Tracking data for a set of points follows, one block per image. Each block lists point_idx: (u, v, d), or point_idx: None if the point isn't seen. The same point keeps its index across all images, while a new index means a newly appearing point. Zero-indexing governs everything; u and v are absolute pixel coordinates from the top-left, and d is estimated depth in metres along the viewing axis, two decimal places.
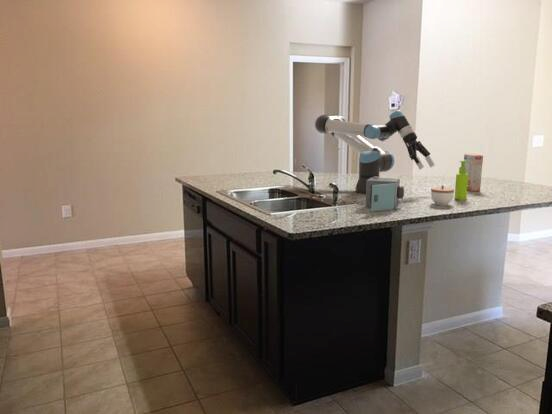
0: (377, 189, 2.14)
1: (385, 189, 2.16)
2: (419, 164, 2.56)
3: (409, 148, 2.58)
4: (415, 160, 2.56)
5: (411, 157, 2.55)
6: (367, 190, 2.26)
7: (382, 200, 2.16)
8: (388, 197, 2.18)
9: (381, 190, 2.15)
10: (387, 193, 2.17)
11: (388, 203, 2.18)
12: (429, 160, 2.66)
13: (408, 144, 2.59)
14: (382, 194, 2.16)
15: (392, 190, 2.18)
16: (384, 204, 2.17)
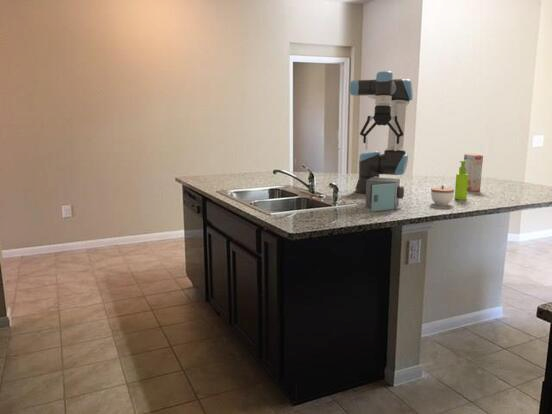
0: (377, 189, 2.14)
1: (385, 189, 2.16)
2: None
3: None
4: None
5: None
6: (367, 190, 2.26)
7: (382, 200, 2.16)
8: (388, 197, 2.18)
9: (381, 190, 2.15)
10: (387, 193, 2.17)
11: (388, 203, 2.18)
12: (394, 143, 2.22)
13: (367, 118, 2.24)
14: (382, 194, 2.16)
15: (392, 190, 2.18)
16: (384, 204, 2.17)
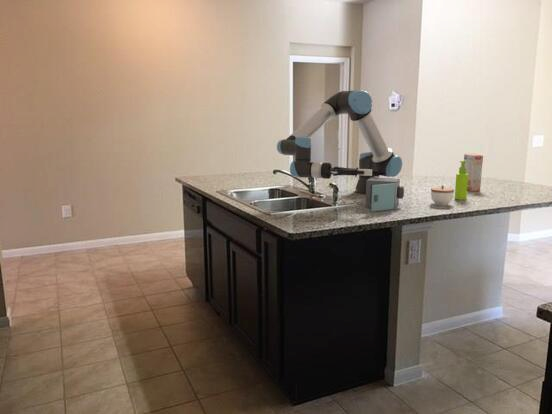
0: (377, 189, 2.14)
1: (385, 189, 2.16)
2: None
3: None
4: None
5: None
6: (367, 190, 2.26)
7: (382, 200, 2.16)
8: (388, 197, 2.18)
9: (381, 190, 2.15)
10: (387, 193, 2.17)
11: (388, 203, 2.18)
12: None
13: None
14: (382, 194, 2.16)
15: (392, 190, 2.18)
16: (384, 204, 2.17)
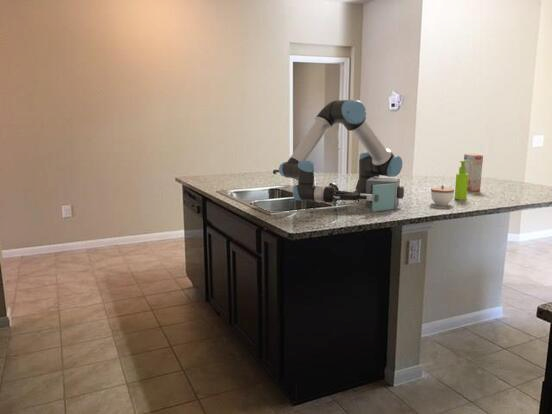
0: (378, 189, 2.14)
1: (385, 189, 2.16)
2: None
3: None
4: None
5: None
6: (367, 190, 2.26)
7: (382, 200, 2.16)
8: (388, 197, 2.18)
9: (381, 190, 2.15)
10: (387, 193, 2.17)
11: (388, 203, 2.18)
12: None
13: None
14: (382, 194, 2.16)
15: (392, 190, 2.18)
16: (384, 204, 2.17)
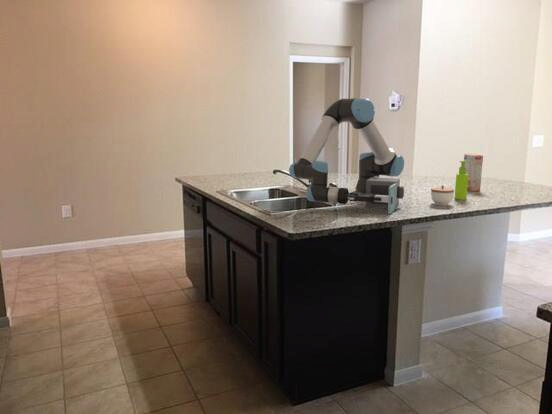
0: (392, 191, 2.09)
1: (394, 190, 2.14)
2: None
3: None
4: None
5: (374, 195, 2.18)
6: (367, 190, 2.26)
7: (392, 201, 2.13)
8: (394, 198, 2.16)
9: (393, 191, 2.12)
10: (394, 194, 2.15)
11: (394, 204, 2.17)
12: None
13: None
14: (393, 195, 2.12)
15: (395, 190, 2.17)
16: (393, 205, 2.15)
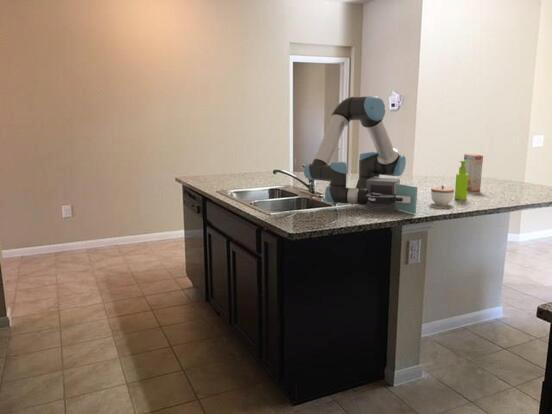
0: None
1: None
2: None
3: None
4: None
5: None
6: None
7: None
8: None
9: None
10: None
11: None
12: None
13: None
14: None
15: None
16: None
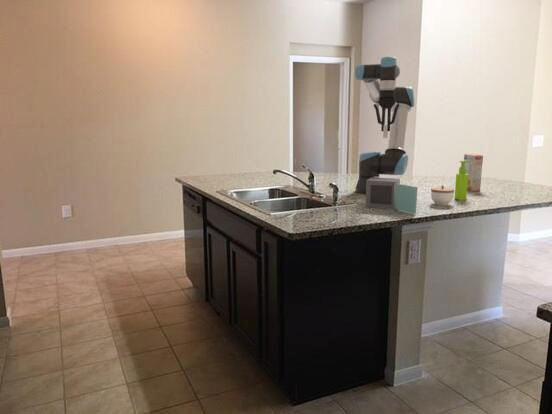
0: None
1: None
2: None
3: None
4: None
5: (378, 122, 2.37)
6: (367, 190, 2.26)
7: None
8: None
9: None
10: None
11: None
12: None
13: None
14: None
15: None
16: None
